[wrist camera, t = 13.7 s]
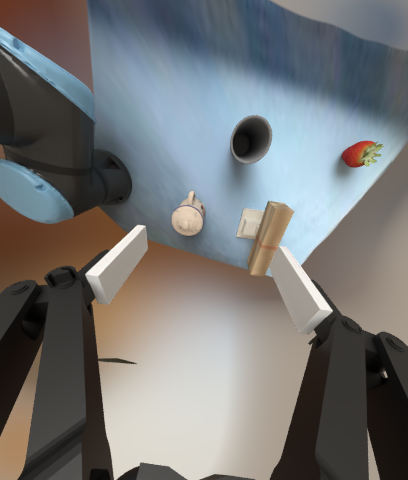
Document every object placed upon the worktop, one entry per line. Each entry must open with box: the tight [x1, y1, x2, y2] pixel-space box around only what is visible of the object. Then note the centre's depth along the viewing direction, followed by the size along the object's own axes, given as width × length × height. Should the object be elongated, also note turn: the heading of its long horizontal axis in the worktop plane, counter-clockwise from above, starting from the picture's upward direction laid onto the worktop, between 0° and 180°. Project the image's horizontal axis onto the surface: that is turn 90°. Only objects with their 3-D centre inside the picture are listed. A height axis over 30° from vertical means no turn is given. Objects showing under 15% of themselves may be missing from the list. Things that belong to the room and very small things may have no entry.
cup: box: [230, 115, 272, 164], centre depth 31 cm, size 7×7×15 cm
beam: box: [247, 201, 294, 276], centre depth 40 cm, size 4×20×6 cm, turn 173°
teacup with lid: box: [171, 191, 205, 236], centre depth 42 cm, size 12×9×12 cm
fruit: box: [342, 141, 383, 167], centre depth 33 cm, size 5×5×8 cm
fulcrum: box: [236, 208, 265, 239], centre depth 45 cm, size 12×10×7 cm
